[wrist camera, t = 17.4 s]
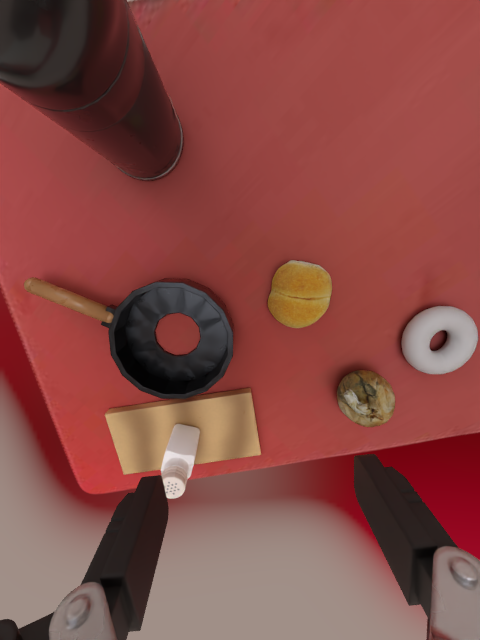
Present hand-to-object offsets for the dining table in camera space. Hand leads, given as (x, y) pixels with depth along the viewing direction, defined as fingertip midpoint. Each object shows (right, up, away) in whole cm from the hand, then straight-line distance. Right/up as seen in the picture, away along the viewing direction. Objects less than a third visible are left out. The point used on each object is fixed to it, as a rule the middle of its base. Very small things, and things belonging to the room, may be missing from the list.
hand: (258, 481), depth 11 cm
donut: (+27, +4, +29) cm, 40 cm away
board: (-9, -11, +32) cm, 35 cm away
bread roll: (+7, +11, +27) cm, 30 cm away
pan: (-15, +7, +27) cm, 32 cm away
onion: (+17, -4, +30) cm, 35 cm away
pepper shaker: (-9, -11, +30) cm, 33 cm away
